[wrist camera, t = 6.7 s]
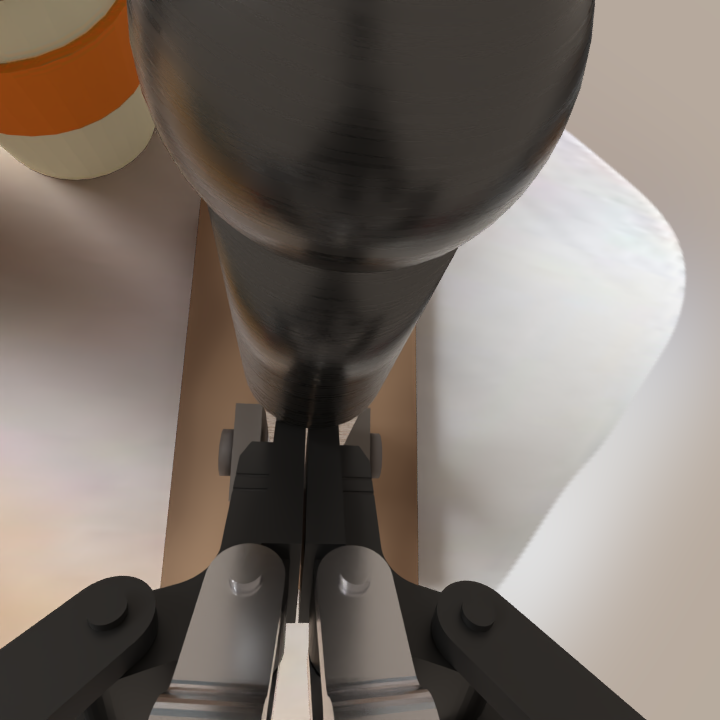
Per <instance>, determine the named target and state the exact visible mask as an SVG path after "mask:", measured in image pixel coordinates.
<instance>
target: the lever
mask: <svg viewBox="0 0 720 720" xmlns="http://www.w3.org/2000/svg"><path fill="white" fill-rule="evenodd" d="M594 7H595V0H127V15H128V27H129V39H130V45H131V49H132V54H133V58H134V62H135V67H136V71H137V75H138V79H139V83H140V87H141V91H142V94H143V97H144V99H145V102H146V105H147V107H148V110H149V112H150V115H151V117H152V120H153V122H154V124H155V126H156V129H157V131H158V133H159V135H160V138H161V140H162V141H163V143H164V145H165V147H166V148H167V150H168V152H169V153H170V155H171V157H172V159H173V160H174V162H175V163H176V165H177V166H178V168H179V169H180V171H181V172H182V174H183V175H184V177H185V178H186V180H187V181H188V182H189V183H190V185H191V186H192V187H193V188H194V189H195V190H196V192H197V193H198V194H199V195H200V196H201V197H202V198H203V200H204V201H205V202H206V203H207V206H208V211H209V215H210V220H211V225H212V229H213V234H214V238H215V243H216V247H217V252H218V256H219V261H220V265H221V270H222V274H223V279H224V283H225V288H226V292H227V297H228V301H229V306H230V310H231V315H232V320H233V324H234V329H235V333H236V338H237V342H238V347H239V351H240V356H241V360H242V365H243V369H244V374H245V377H246V381H247V384H248V386H249V388H250V391H251V392H252V394H253V396H254V397H255V399H256V400H257V401H258V402H259V404H260V405H261V406H262V407H263V408H264V409H265V410H266V417H267V424H268V432H269V433H268V442H273V440H274V431H275V423H276V421H283V422H285V423H288V424H291V425H294V426H298V427H302V428H306V439H305V456H306V444H307V432H308V428H310V429H323V428H329V427H334V426H338V425H339V440H340V445H344V443H345V441H346V439H347V437H348V435H349V433H350V431H351V429H352V427H353V425H354V423H355V421H356V419H357V417H358V415H360V414H361V413H362V412H363V411H364V410H366V409H367V408H368V406H369V405H370V404H371V403H372V402H373V400H374V399H375V397H376V396H377V394H378V392H379V391H380V389H381V387H382V385H383V383H384V382H385V380H386V378H387V376H388V374H389V372H390V371H391V369H392V367H393V365H394V363H395V361H396V360H397V358H398V356H399V354H400V352H401V351H402V349H403V347H404V345H405V343H406V341H407V340H408V338H409V336H410V334H411V332H412V331H413V329H414V327H415V325H416V323H417V321H418V320H419V318H420V316H421V314H422V312H423V311H424V309H425V307H426V305H427V303H428V301H429V300H430V298H431V296H432V294H433V292H434V290H435V289H436V287H437V285H438V283H439V281H440V280H441V278H442V276H443V274H444V272H445V270H446V269H447V267H448V265H449V263H450V261H451V260H452V258H453V256H454V254H455V252H456V250H457V249H458V247H459V246H461V245H463V244H464V243H466V242H467V241H469V240H471V239H472V238H474V237H475V236H477V235H478V234H479V233H481V232H482V231H484V230H485V229H486V228H488V227H489V226H490V225H492V224H493V223H494V222H495V221H496V220H497V219H498V218H499V217H500V216H502V215H503V214H504V213H505V212H506V211H507V210H508V209H509V208H510V207H511V206H512V205H513V204H514V203H515V202H516V201H517V200H518V199H519V198H520V197H521V196H522V195H523V193H524V192H525V191H526V189H527V188H528V187H529V185H530V184H531V183H532V182H533V180H534V179H535V178H536V176H537V175H538V173H539V172H540V171H541V169H542V168H543V166H544V165H545V163H546V162H547V160H548V159H549V157H550V155H551V153H552V152H553V150H554V148H555V146H556V144H557V143H558V141H559V139H560V137H561V135H562V133H563V131H564V129H565V126H566V124H567V122H568V119H569V117H570V114H571V112H572V109H573V107H574V104H575V101H576V99H577V96H578V94H579V91H580V88H581V84H582V79H583V75H584V71H585V67H586V62H587V58H588V53H589V49H590V44H591V39H592V28H593V18H594Z"/></svg>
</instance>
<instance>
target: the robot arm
mask: <svg viewBox="0 0 720 720" xmlns="http://www.w3.org/2000/svg"><path fill="white" fill-rule="evenodd" d="M305 439H306V428H302V427H298V426H294V425H291V424H288V423H285V422H283V421H276V423H275V431H274V440H273V442H258V441H252V442H251V443H250V444H249V445H248V446H247V447H246V449H245V450H244V451H243V452H242V453H241V455H240V456H239V461H238V465H237V470H236V476H235V480H234V485H233V491H232V494H231V499H230V504H229V509H228V514H227V519H226V523H225V528H224V533H223V538H222V543H221V547H220V550H219V552H218V554H217V556H216V557H215V559H214V560H213V561H212V562H211V564H210V565H209V566H208V567H207V568H206V569H205V570H204V571H202V572H201V573H200V574H198V575H196V576H195V577H193V578H191V579H189V580H187V581H184V582H181V583H178V584H174V585H171V586H167V587H163V588H160V589H156V590H153V591H152V589H151V588H150V587H149V585H148V584H147V583H145V582H144V581H142V580H140V579H138V578H135V577H130V576H115V577H110V578H106V579H103V580H100V581H98V582H96V583H94V584H91V585H90V586H88V587H87V588H85V589H83V590H82V591H81V592H79V593H78V594H76V595H75V596H74V597H72V598H71V599H69V600H68V601H67V602H65V603H64V604H63V605H61V606H60V607H58V608H57V609H56V610H54V611H53V612H51V613H50V614H49V615H47V616H46V617H45V618H43V619H42V620H40V621H39V622H38V623H36V624H35V625H33V626H32V627H31V628H29V629H28V630H26V631H25V632H24V633H22V634H21V635H20V636H18V637H17V638H15V639H14V640H13V641H11V642H10V643H8V644H7V645H6V646H4V647H3V648H1V649H0V720H272V717H273V710H274V703H275V696H276V688H277V681H278V674H279V667H280V662H281V660H282V657H283V653H284V645H285V631H286V623H295V619H296V608H297V596H298V584H299V573H300V592H299V621H298V623H309V648H308V657H307V676H308V694H309V713H310V720H646V719H645V718H643V717H642V716H641V715H640V714H639V713H638V712H636V711H635V710H634V709H633V708H632V707H631V706H629V705H628V704H627V703H626V702H624V700H622V699H621V698H620V697H619V696H618V695H616V694H615V693H614V692H613V691H612V690H611V689H609V688H608V687H607V686H606V685H605V684H604V683H603V682H601V681H600V680H599V679H598V678H597V677H595V676H594V675H593V674H592V673H591V672H590V671H588V670H587V669H586V668H585V667H584V666H583V665H581V664H580V663H579V662H578V661H577V660H576V659H574V658H573V657H572V656H571V655H570V654H569V653H567V652H566V651H565V650H564V649H563V648H562V647H560V646H559V645H558V644H557V643H556V642H555V641H553V640H552V639H551V638H550V637H549V636H548V635H546V634H545V633H544V632H543V631H542V630H540V629H539V628H538V627H537V626H536V625H535V624H534V623H532V622H531V621H530V620H529V619H528V618H526V617H525V616H524V615H523V614H522V613H521V612H519V611H518V610H517V609H516V608H515V607H514V606H512V605H511V604H510V603H509V602H508V601H507V600H505V599H504V598H503V597H502V596H501V595H500V594H498V593H497V592H496V591H494V590H493V589H491V588H490V587H488V586H486V585H483V584H481V583H478V582H474V581H459V582H455V583H452V584H450V585H449V586H447V587H446V588H445V589H444V590H443V591H442V592H438V591H435V590H432V589H429V588H426V587H422V586H419V585H416V584H414V583H411V582H409V581H407V580H405V579H404V578H402V577H401V576H399V575H398V574H397V573H396V572H395V571H394V570H393V569H392V568H391V567H390V566H389V564H388V563H387V561H386V560H385V558H384V555H383V552H382V548H381V541H380V534H379V526H378V519H377V512H376V504H375V497H374V490H373V482H372V475H371V468H370V461H369V459H368V458H367V456H366V455H365V454H364V452H363V451H362V449H361V448H360V447H359V446H353V445H340V440H339V425H338V426H334V427H329V428H323V429H310V428H308V432H307V444H306V456H305ZM300 561H301V564H300Z"/></svg>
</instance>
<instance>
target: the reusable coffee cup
mask: <svg viewBox="0 0 720 720" xmlns="http://www.w3.org/2000/svg"><path fill="white" fill-rule="evenodd" d="M154 128H155V124H154V122H153V120H152V117H151V115H150V112H149V110H148V107H147V105H146V102H145V99H144V97H143V94H142V91H141V87H140V83H139V79H138V75H137V71H136V67H135V62H134V58H133V54H132V49H131V45H130V39H129V27H128V15H127V0H0V145H1V146H2V147H3V148H4V149H5V150H6V151H7V152H9V153H10V154H11V155H12V156H13V157H14V158H16V159H17V160H18V161H19V162H21V163H22V164H24V165H25V166H27V167H28V168H30V169H32V170H34V171H36V172H39V173H41V174H44V175H46V176H51V177H55V178H59V179H71V180H81V179H91V178H96V177H100V176H104V175H107V174H110V173H112V172H114V171H116V170H119V169H121V168H123V167H124V166H126V165H127V164H129V163H130V162H131V161H133V160H134V159H135V158H136V157H137V156H138V155H139V154H140V153H141V152H142V151H143V150H144V149H145V147H146V146H147V144H148V142H149V141H150V139H151V137H152V134H153V131H154Z"/></svg>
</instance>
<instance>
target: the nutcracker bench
mask: <svg viewBox="0 0 720 720" xmlns="http://www.w3.org/2000/svg"><path fill="white" fill-rule="evenodd" d="M268 433H269V432H268V424H267V417H266V410H265V409H264V408H263V407H262V406H261V405H260V404H259V402H258V401H257V400H256V399H255V397H254V396H253V394H252V392H251V391H250V388H249V386H248V384H247V381H246V377H245V374H244V369H243V365H242V360H241V356H240V351H239V347H238V342H237V338H236V333H235V329H234V324H233V320H232V315H231V310H230V306H229V301H228V297H227V292H226V288H225V283H224V279H223V274H222V270H221V265H220V261H219V256H218V252H217V247H216V243H215V238H214V234H213V229H212V225H211V220H210V215H209V211H208V206H207V203H206V202H205V201H204V200H203V198H202V197H201V203H200V212H199V222H198V231H197V241H196V251H195V260H194V270H193V279H192V289H191V298H190V308H189V318H188V327H187V337H186V346H185V356H184V366H183V375H182V385H181V394H180V404H179V413H178V423H177V433H176V442H175V452H174V461H173V471H172V481H171V490H170V500H169V509H168V519H167V528H166V538H165V548H164V557H163V567H162V576H161V586H160V588H163V587H167V586H171V585H174V584H178V583H181V582H184V581H187V580H189V579H191V578H193V577H195V576H196V575H198V574H200V573H201V572H202V571H204V570H205V569H206V568H207V567H208V566H209V565H210V564H211V562H212V561H213V560H214V559H215V557H216V556H217V554H218V552H219V550H220V547H221V543H222V538H223V533H224V528H225V523H226V519H227V514H228V509H229V504H230V499H231V494H232V491H233V485H234V480H235V476H236V470H237V465H238V461H239V456H240V455H241V453H242V452H243V451H244V450H245V449H246V447H247V446H248V445H249V444H250V443H251V442H252V441H258V442H268ZM344 445H353V446H359V447H360V448H361V449H362V451H363V452H364V454H365V455H366V456H367V458H368V459H369V461H370V468H371V475H372V482H373V490H374V497H375V504H376V512H377V519H378V526H379V534H380V541H381V548H382V552H383V555H384V558H385V560H386V561H387V563H388V564H389V566H390V567H391V568H392V569H393V570H394V571H395V572H396V573H397V574H398V575H399V576H401V577H402V578H404V579H405V580H407V581H409V582H411V583H414V584H416V585H418V505H417V415H416V325H415V327H414V329H413V331H412V332H411V334H410V336H409V338H408V340H407V341H406V343H405V345H404V347H403V349H402V351H401V352H400V354H399V356H398V358H397V360H396V361H395V363H394V365H393V367H392V369H391V371H390V372H389V374H388V376H387V378H386V380H385V382H384V383H383V385H382V387H381V389H380V391H379V392H378V394H377V396H376V397H375V399H374V400H373V402H372V403H371V404H370V405H369V406H368V408H367V409H366V410H364V411H363V412H362V413H361V414H360V415H358V417H357V419H356V421H355V423H354V425H353V427H352V429H351V431H350V433H349V435H348V437H347V439H346V441H345V443H344ZM300 564H301V561H300ZM298 589H300V573H299V584H298Z"/></svg>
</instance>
